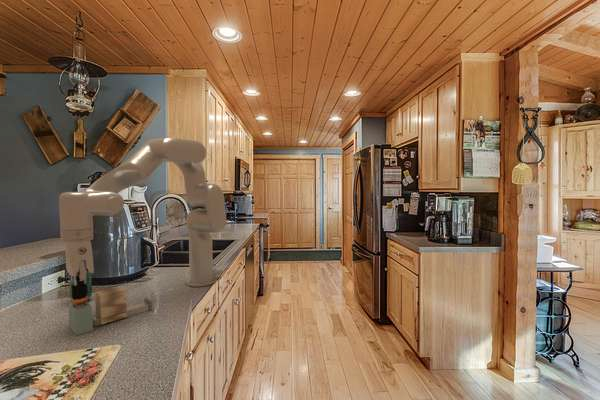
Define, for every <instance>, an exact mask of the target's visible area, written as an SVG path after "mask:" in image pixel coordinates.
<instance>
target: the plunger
mask: <svg viewBox="0 0 600 400" xmlns="http://www.w3.org/2000/svg"><path fill="white" fill-rule="evenodd" d="M88 300H89V298H87V296H86V297H84V298H80V299H76V300H74V299H73V298H72V300H71V303H72V304H75V308H77V307H81V306H85V302H88Z"/></svg>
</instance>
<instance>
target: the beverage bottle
mask: <svg viewBox="0 0 600 400" xmlns="http://www.w3.org/2000/svg"><path fill="white" fill-rule="evenodd" d="M71 285H74V284H72V280H71V274H69V294H70V300H71V301H72V286H71ZM86 291H87V299H90V298H91V297H92V295H93V286H92V274H90V273H88V272H87V271H86Z"/></svg>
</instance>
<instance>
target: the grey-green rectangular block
mask: <svg viewBox="0 0 600 400" xmlns="http://www.w3.org/2000/svg"><path fill="white" fill-rule="evenodd" d="M93 317H94V316H93V306H92V305H91V304H90V303H89V302H88V301H87V302H85V306H81V307H77V308H75V304H72V302H69V303H68V324H69V325H68V326H69V328H70V330H71V331H72V332H73V334H74V335H75V337H76V336H77V337H78V336H80V335H83V334H87V333H89V332H92V331H94V325H93Z"/></svg>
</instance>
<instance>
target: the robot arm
mask: <svg viewBox="0 0 600 400" xmlns="http://www.w3.org/2000/svg"><path fill="white" fill-rule="evenodd" d="M206 157H207V149H206V147H205V146H204V144H203V143H201V141H198V140H193V139H192V140H191V139H184V138H183V139H182V138H179V137H158V138H157V137H156V138H152V139H149V140H147V141H145V142H144V144H143V145H141V146H140V147H139V148H138V149H137V150H136V151H135V152H134V153H133V154H131V156H130V157H129V158H128V159H126V161H124V162H123V163H122V164H120V165H118V166H117V167H115V168H113V169H112V170H110V171H109V172H107V173H105V174H103V175H102V176H101V177H99V178H97V180H95V181H94V182H92V184H91V185H90V186H88V187H87V188H86V189H85V191H67V192H66V191H65V192H62V193H61V194H60V195H59V197H58V198H59V199H58V200H59V201H58V202H59V203H58V204H59V205H58V206H59V225H60V226H59V227H60V228H59V229H60V231H59V233H60V242H61V243H65V245H64V246H65V249H64V250H65V255H64V256H65V266H66V267H65V269H66V272H67V273H68V274H69V275H70V274H71V280H72V284H74V285H71V286H72V298H73V299H74V300H76V299H80V298H84V297H86V296H87V291H86V271H87V272H88V273H90V274H91V275H92V274H94V272H95V269H94V267H95V266H94V256H93V247H92V242H91V240H94V221H93V216H114V215H117V214H119V213H120V212H121V211H122V210H123V208H124V206H125V200H124V198H123V196H122V195H121V194H119V193H121V192H122V191H123V190H126V189H129V188H131V187H134V186H137V185H139V184H142V183H144V182H145V181H146V180H147V179H148V178H149V177H150V176H151V175H152V174H153V173H154V172H155V171H156V170H158V168H159V167H160V166H161V165H162V164H163V163H169V162H170V163H173V164H174V165H175V166H176V167H178V169H179V170H180V172H182V177H183V181H184V189H185V195H186V200H187V203H188V204H189V205H190V206H194V207H205V208H195V209H192V210H191V211H189V212H188V213H187V215H186V218H185V225H186V230H187V233H188V259H189V260H188V263H189V264H188V265H189V277H188V278H187V279H186V280H185V284H186V286H188V287H195V288H196V287H197V288H198V287H207V286H210V285H213V284H215V283H216V282H217V277H216V276H217V275H222V274H223V269H218V270H217V269H213V267H214V264H213V263H214V261H213V257H214V256H213V239H212V235H211V233H216V234H217V233H221V232H223V231H224V229H225V228H226V225H227V212H226V203H225V202H226V201H225V194H224V192H223V190H222V188H221V187H220V186H219V185H218V184H215V183H207V177H206V172H205V169H204V166H203V165H202V162H204V161H205V159H206Z"/></svg>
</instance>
